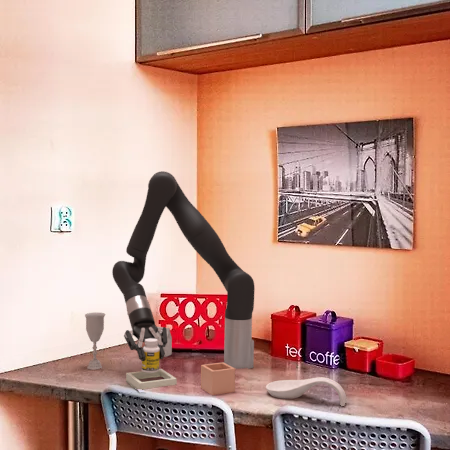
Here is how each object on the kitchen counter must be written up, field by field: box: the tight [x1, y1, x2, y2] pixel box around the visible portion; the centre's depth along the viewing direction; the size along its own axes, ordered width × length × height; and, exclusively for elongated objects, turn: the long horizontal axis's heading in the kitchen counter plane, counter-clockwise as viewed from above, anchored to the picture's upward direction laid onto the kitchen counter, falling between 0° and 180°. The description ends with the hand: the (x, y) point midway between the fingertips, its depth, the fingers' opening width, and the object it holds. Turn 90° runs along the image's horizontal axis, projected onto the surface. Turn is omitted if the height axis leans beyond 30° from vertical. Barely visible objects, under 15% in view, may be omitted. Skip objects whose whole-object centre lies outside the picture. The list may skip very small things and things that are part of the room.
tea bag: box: [156, 326, 173, 358], centre depth 247 cm, size 4×7×10 cm, turn 62°
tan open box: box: [200, 361, 236, 396], centre depth 203 cm, size 8×8×8 cm
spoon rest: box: [265, 376, 347, 407], centre depth 198 cm, size 24×12×7 cm, turn 70°
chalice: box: [84, 312, 106, 370], centre depth 228 cm, size 7×7×18 cm
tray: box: [125, 368, 178, 390], centre depth 210 cm, size 12×12×3 cm
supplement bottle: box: [141, 338, 160, 373], centre depth 210 cm, size 5×5×10 cm
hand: (153, 358), depth 208 cm, fingers closed on supplement bottle, 5 cm apart
